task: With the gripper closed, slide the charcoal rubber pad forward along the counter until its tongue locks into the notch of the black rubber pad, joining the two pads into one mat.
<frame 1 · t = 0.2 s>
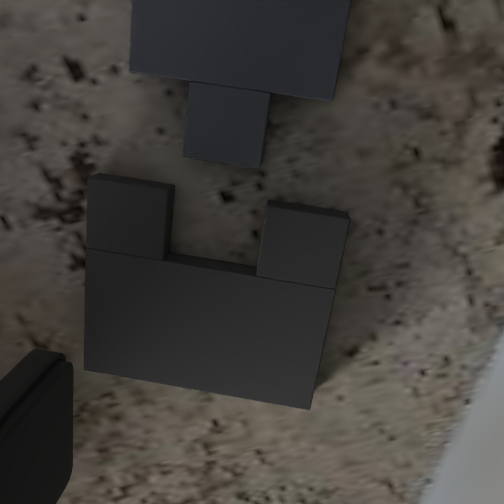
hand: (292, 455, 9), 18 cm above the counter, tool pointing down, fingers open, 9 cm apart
black pad: (210, 290, 28), on the counter
charcoal pad: (242, 11, 23), on the counter
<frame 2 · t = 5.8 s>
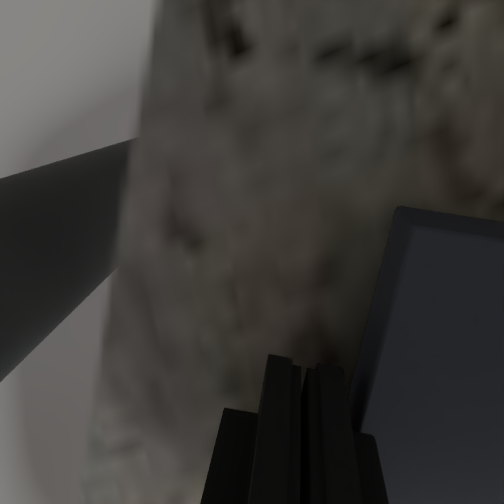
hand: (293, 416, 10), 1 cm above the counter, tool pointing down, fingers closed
charcoal pad: (492, 432, 11), on the counter, touching gripper
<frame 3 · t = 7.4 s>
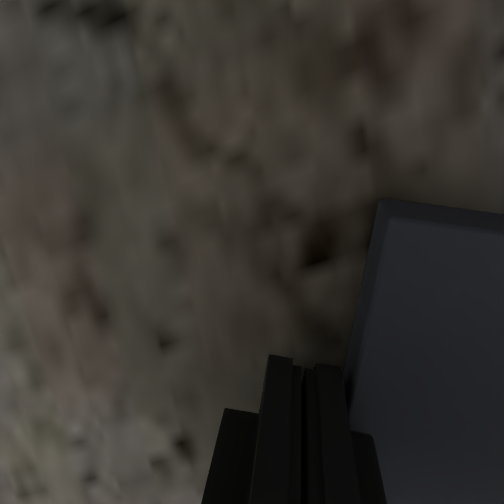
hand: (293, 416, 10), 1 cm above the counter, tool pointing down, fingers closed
charcoal pad: (487, 427, 11), on the counter, touching black pad, gripper
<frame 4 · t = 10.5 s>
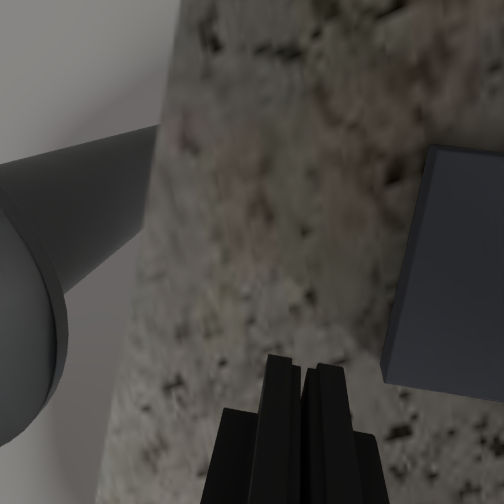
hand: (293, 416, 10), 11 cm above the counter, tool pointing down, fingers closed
charcoal pad: (487, 275, 20), on the counter, touching black pad
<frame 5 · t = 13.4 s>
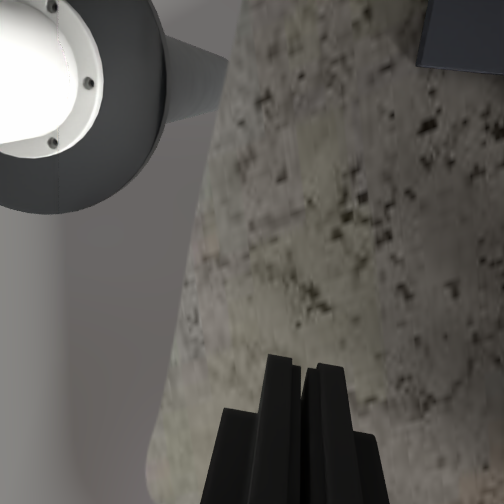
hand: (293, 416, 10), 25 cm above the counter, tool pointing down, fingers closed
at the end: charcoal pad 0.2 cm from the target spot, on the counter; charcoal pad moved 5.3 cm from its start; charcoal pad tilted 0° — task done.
